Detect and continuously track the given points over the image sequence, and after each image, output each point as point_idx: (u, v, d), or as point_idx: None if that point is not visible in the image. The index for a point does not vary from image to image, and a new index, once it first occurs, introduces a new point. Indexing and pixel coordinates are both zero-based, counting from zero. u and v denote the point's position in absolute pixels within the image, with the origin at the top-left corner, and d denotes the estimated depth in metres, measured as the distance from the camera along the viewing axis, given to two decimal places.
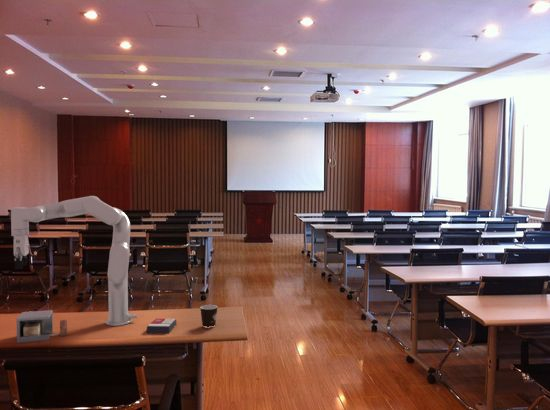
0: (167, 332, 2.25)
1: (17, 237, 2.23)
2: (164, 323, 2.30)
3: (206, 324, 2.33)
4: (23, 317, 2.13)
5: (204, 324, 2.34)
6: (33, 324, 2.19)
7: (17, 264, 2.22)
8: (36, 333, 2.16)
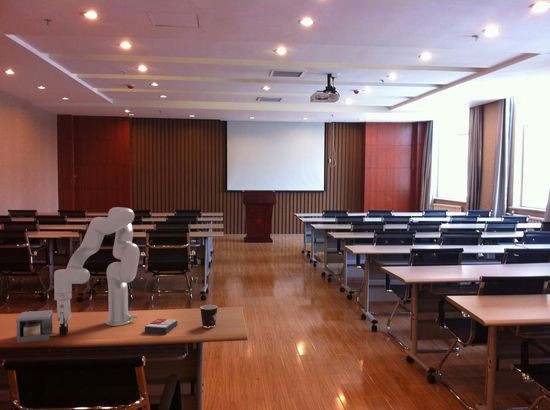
0: (164, 333, 2.23)
1: (61, 301, 2.17)
2: (162, 324, 2.28)
3: (206, 324, 2.33)
4: (23, 317, 2.13)
5: (204, 324, 2.34)
6: (33, 324, 2.19)
7: (62, 330, 2.19)
8: (36, 333, 2.16)
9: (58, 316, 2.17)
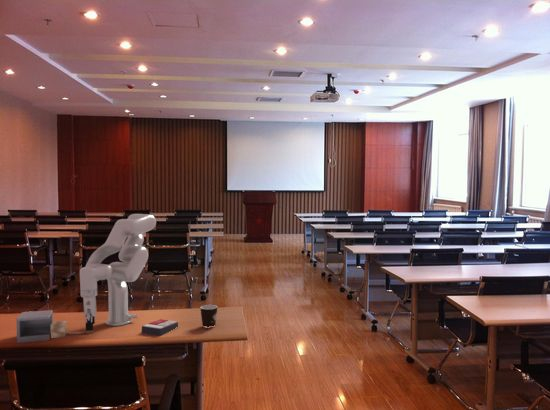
0: (158, 334, 2.21)
1: (88, 298, 2.21)
2: (160, 325, 2.27)
3: (206, 324, 2.33)
4: (23, 317, 2.13)
5: (204, 324, 2.34)
6: (60, 322, 2.23)
7: (88, 326, 2.20)
8: (63, 331, 2.19)
9: (85, 313, 2.20)
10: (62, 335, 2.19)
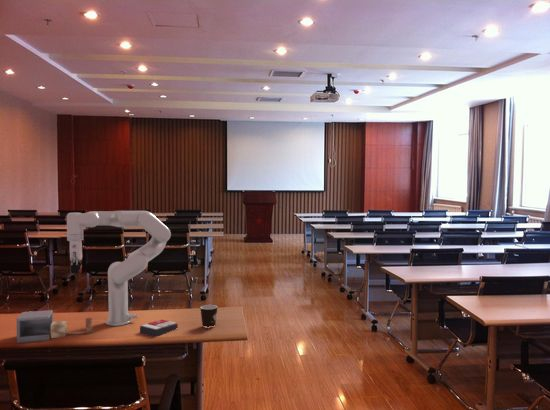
0: (154, 335, 2.21)
1: (73, 241, 2.29)
2: (157, 325, 2.26)
3: (206, 324, 2.33)
4: (23, 317, 2.13)
5: (204, 324, 2.34)
6: (60, 322, 2.23)
7: (73, 268, 2.28)
8: (63, 331, 2.19)
9: (71, 255, 2.28)
10: (62, 335, 2.19)
